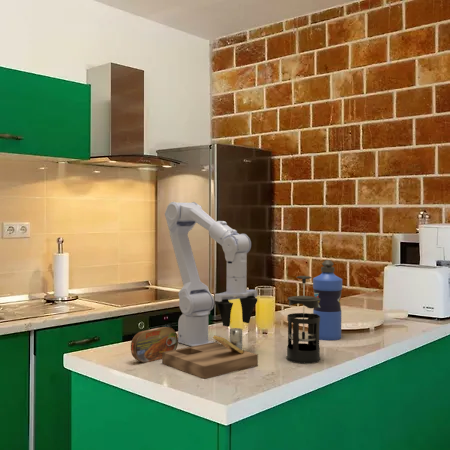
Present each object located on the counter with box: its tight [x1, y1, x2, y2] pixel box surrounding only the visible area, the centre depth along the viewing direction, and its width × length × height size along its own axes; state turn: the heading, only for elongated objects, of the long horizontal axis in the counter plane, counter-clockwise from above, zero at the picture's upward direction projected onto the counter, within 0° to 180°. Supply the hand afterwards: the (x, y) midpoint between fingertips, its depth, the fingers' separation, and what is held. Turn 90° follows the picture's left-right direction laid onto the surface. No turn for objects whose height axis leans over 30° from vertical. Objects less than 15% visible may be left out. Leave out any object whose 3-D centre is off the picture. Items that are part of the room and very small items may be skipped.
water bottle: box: [312, 259, 343, 341], centre depth 184 cm, size 9×9×25 cm
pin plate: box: [161, 341, 259, 379], centre depth 151 cm, size 18×18×3 cm
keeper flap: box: [212, 335, 245, 354], centre depth 150 cm, size 4×8×1 cm
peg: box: [229, 327, 243, 350], centre depth 163 cm, size 4×4×7 cm
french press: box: [285, 275, 321, 365], centre depth 158 cm, size 12×9×23 cm
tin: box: [130, 326, 179, 364], centre depth 157 cm, size 15×3×8 cm, turn 136°
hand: (236, 324), depth 162 cm, fingers open, 7 cm apart
